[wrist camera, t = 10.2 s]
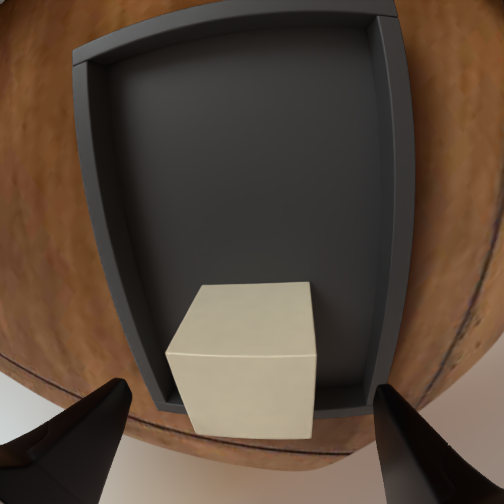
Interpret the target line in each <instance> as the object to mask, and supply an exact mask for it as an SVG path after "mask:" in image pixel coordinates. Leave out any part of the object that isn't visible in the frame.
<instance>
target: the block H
mask: <svg viewBox="0 0 504 504" xmlns="http://www.w3.org/2000/svg"><path fill="white" fill-rule="evenodd" d="M165 354H166V357H167V360H168V363H169V365H170V368H171V371H172V374H173V377H174V379H175V382H176V385H177V387H178V390H179V393H180V395H181V398H182V400H183V403H184V405H185V408H186V410H187V413H188V415H189V418H190V420H191V422H192V425H193V427H194V430H195V432H196V434H202V435H211V436H221V437H234V438H252V439H310V438H311V437H312V426H313V414H314V400H315V385H316V366H317V350H316V338H315V328H314V318H313V308H312V299H311V290H310V283H309V282H288V283H262V284H228V285H202V286H201V288H200V290H199V292H198V293H197V295H196V297H195V299H194V301H193V302H192V304H191V306H190V308H189V310H188V312H187V313H186V315H185V317H184V319H183V321H182V323H181V324H180V326H179V328H178V330H177V332H176V334H175V336H174V337H173V339H172V341H171V343H170V345H169V347H168V349H167V350H166V353H165Z"/></svg>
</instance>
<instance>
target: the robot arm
mask: <svg viewBox="0 0 504 504" xmlns="http://www.w3.org/2000/svg"><path fill="white" fill-rule="evenodd" d="M131 402H132V392H131V390H130V388H129V386H128V384H127V382H126V381H125V380H124V379H121V378H113V379H112V380H110V381H109V382H107V383H106V384H104V385H103V386H101V387H100V388H98V389H97V390H95V391H94V392H92V393H91V394H89V395H87V396H86V397H84V398H83V399H81V400H80V401H78V402H77V403H75V404H74V405H72V406H71V407H69V408H67V409H66V410H64V411H63V412H61V413H60V414H58V415H56V416H55V417H53V418H52V419H50V420H49V421H47V422H45V423H44V424H43V425H40V426H39V427H37V428H36V429H34V430H32V431H30V432H28V433H26V434H24V435H22V436H20V437H18V438H16V439H14V440H12V441H10V442H8V443H5V444H3V445H0V504H98V503H99V500H100V497H101V494H102V490H103V487H104V485H105V482H106V479H107V476H108V473H109V470H110V468H111V465H112V462H113V458H114V456H115V454H116V451H117V448H118V445H119V443H120V440H121V437H122V435H123V432H124V428H125V425H126V421H127V417H128V413H129V409H130V405H131ZM373 412H374V422H375V435H376V443H377V450H378V454H379V460H380V465H381V471H382V476H383V482H384V488H385V494H386V500H387V504H504V489H503V488H500V487H499V486H497V485H495V484H494V483H492V482H491V481H490V480H489V479H487V478H486V477H485V476H483V475H482V474H481V473H480V472H478V471H477V470H476V469H474V468H473V467H472V466H471V465H470V464H468V463H467V462H466V461H465V460H464V459H463V458H462V457H461V456H460V455H459V454H458V453H457V452H456V451H455V450H454V449H452V447H451V446H450V445H448V443H447V442H446V441H445V440H444V439H443V438H442V437H441V436H440V435H439V434H438V433H437V432H436V431H435V430H434V429H433V428H432V427H431V426H430V425H429V424H428V423H427V422H426V421H425V419H424V418H422V417H421V415H420V414H419V413H418V412H417V411H416V410H415V409H414V408H413V407H412V406H411V405H410V404H409V403H408V402H407V401H406V400H405V399H404V398H403V397H402V396H401V395H400V394H399V393H398V392H397V391H396V390H395V389H394V388H393V387H392V386H391V385H390V384H388V383H386V384H379V385H378V386H377V388H376V391H375V395H374V399H373Z"/></svg>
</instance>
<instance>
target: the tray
mask: <svg viewBox="0 0 504 504" xmlns="http://www.w3.org/2000/svg"><path fill="white" fill-rule="evenodd" d="M72 66H73V68H72V81H73V102H74V115H75V126H76V136H77V144H78V152H79V159H80V166H81V172H82V178H83V184H84V190H85V195H86V200H87V205H88V210H89V215H90V219H91V224H92V228H93V232H94V236H95V240H96V244H97V248H98V252H99V256H100V259H101V263H102V267H103V270H104V274H105V277H106V280H107V284H108V287H109V290H110V293H111V296H112V299H113V302H114V305H115V308H116V311H117V314H118V317H119V320H120V323H121V325H122V328H123V331H124V333H125V336H126V339H127V341H128V344H129V346H130V349H131V351H132V354H133V356H134V359H135V361H136V364H137V366H138V368H139V371H140V373H141V375H142V378H143V380H144V382H145V384H146V386H147V389H148V391H149V393H150V395H151V397H152V399H153V401H154V403H155V406H156V408H157V410H159V411H165V412H172V413H179V414H187V415H188V413H187V410H186V408H185V405H184V403H183V400H182V398H181V395H180V393H179V390H178V387H177V385H176V382H175V379H174V377H173V374H172V371H171V368H170V365H169V363H168V360H167V357H166V354H165V353H166V350H167V349H168V347H169V345H170V343H171V341H172V339H173V337H174V336H175V334H176V332H177V330H178V328H179V326H180V324H181V323H182V321H183V319H184V317H185V315H186V313H187V312H188V310H189V308H190V306H191V304H192V302H193V301H194V299H195V297H196V295H197V293H198V292H199V290H200V288H201V286H202V285H228V284H262V283H288V282H309V283H310V290H311V299H312V308H313V318H314V328H315V338H316V350H317V366H316V385H315V400H314V414H313V419H325V418H339V417H350V416H360V415H369V414H374V412H373V399H374V395H375V391H376V388H377V386H378V385H379V384H386V383H387V381H388V377H389V373H390V369H391V365H392V361H393V357H394V353H395V349H396V344H397V340H398V335H399V330H400V325H401V320H402V315H403V309H404V303H405V297H406V291H407V284H408V277H409V269H410V260H411V251H412V240H413V228H414V211H415V135H414V118H413V106H412V96H411V87H410V79H409V72H408V65H407V59H406V53H405V47H404V42H403V37H402V32H401V27H400V23H399V19H398V14H397V10H396V6H395V2H394V0H225V1H219V2H214V3H209V4H204V5H199V6H195V7H190V8H186V9H182V10H178V11H175V12H171V13H167V14H164V15H160V16H157V17H154V18H151V19H147V20H144V21H141V22H139V23H136V24H133V25H130V26H127V27H125V28H122V29H119V30H117V31H114V32H112V33H109V34H107V35H105V36H102V37H100V38H98V39H95V40H93V41H91V42H89V43H86V44H84V45H82V46H80V47H78V48H76V49H74V50H73V51H72Z"/></svg>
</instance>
